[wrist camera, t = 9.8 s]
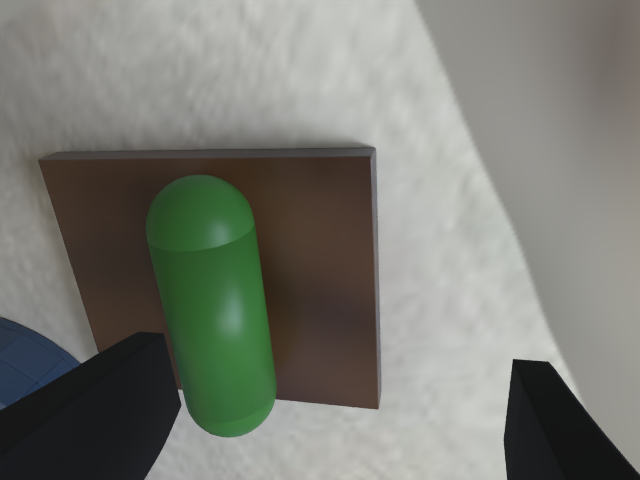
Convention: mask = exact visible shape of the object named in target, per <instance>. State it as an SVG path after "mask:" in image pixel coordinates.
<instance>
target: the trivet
mask: <svg viewBox="0 0 640 480" xmlns="http://www.w3.org/2000/svg"><path fill="white" fill-rule="evenodd" d="M39 164H40V168H41V171H42V174H43V177H44V180H45V183H46V187H47V190H48V193H49V196H50V199H51V202H52V206H53V209H54V212H55V215H56V218H57V221H58V225H59V228H60V231H61V234H62V237H63V240H64V244H65V247H66V250H67V253H68V256H69V260H70V263H71V266H72V269H73V272H74V275H75V279H76V282H77V285H78V288H79V291H80V294H81V298H82V301H83V304H84V307H85V310H86V313H87V317H88V320H89V323H90V326H91V329H92V332H93V336H94V339H95V342H96V345H97V348H98V352H99V353H100V352H102V351H104V350H106V349H107V348H109V347H111V346H112V345H114V344H116V343H118V342H120V341H121V340H123V339H125V338H127V337H129V336H131V335H133V334H135V333H137V332H139V331H142V332H155V333H164V335H165V339H166V344H167V348H168V352H169V356H170V360H171V364H172V368H173V372H174V377H175V381H176V385H177V389H180V390H182V385H181V381H180V377H179V373H178V369H177V364H176V360H175V356H174V352H173V347H172V343H171V339H170V335H169V331H168V326H167V322H166V318H165V314H164V310H163V305H162V301H161V297H160V293H159V289H158V284H157V280H156V276H155V272H154V268H153V263H152V259H151V255H150V251H149V246H148V242H147V236H146V228H145V227H146V217H147V214H148V211H149V208H150V205H151V203H152V202H153V200H154V199H155V197H156V196H157V194H158V193H159V192H160V191H161V190H162V189H163V188H164V187H165V186H167V185H168V184H170V183H172V182H173V181H175V180H177V179H179V178H182V177H186V176H190V175H210V176H214V177H218V178H221V179H223V180H225V181H227V182H228V183H230V184H232V185H233V186H234V187H236V188H237V189H238V190H239V191H240V192H241V193H242V195H243V196H244V197H245V198H246V200H247V201H248V203H249V205H250V207H251V209H252V213H253V217H254V221H255V228H256V235H257V243H258V250H259V257H260V265H261V272H262V280H263V287H264V294H265V302H266V309H267V317H268V324H269V331H270V339H271V346H272V354H273V361H274V368H275V376H276V398H275V399H279V400H289V401H299V402H309V403H318V404H328V405H338V406H348V407H358V408H368V409H379V404H380V397H381V351H380V307H379V264H378V220H377V176H376V148H374V147H370V148H301V149H232V150H164V151H95V152H57V153H55V154H52V155H50V156H47V157H45V158H42V159H40V160H39Z"/></svg>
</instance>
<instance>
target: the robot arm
mask: <svg viewBox="0 0 640 480" xmlns="http://www.w3.org/2000/svg"><path fill="white" fill-rule="evenodd" d="M180 408H181V401H180V397H179V393H178V389H177V385H176V381H175V377H174V372H173V368H172V364H171V360H170V356H169V352H168V348H167V344H166V339H165V335H164V333H155V332H142V331H139V332H137V333H135V334H133V335H131V336H129V337H127V338H125V339H123V340H121V341H120V342H118V343H116V344H114V345H112V346H111V347H109V348H107V349H106V350H104V351H102V352H100V353H99V354H97V355H95V356H94V357H92V358H90V359H89V360H87V361H85V362H84V363H82V364H80V365H79V366H77V367H75V368H73V369H72V370H70V371H68V372H67V373H65V374H63V375H62V376H60V377H58V378H57V379H55V380H53V381H51V382H50V383H48V384H46V385H45V386H43V387H41V388H39V389H38V390H36V391H34V392H32V393H30V394H29V395H27V396H25V397H23V398H21V399H19V400H18V401H16V402H14V403H12V404H10V405H9V406H7V407H5V408H3V409H1V410H0V480H144V479H145V477H146V476H147V474H148V472H149V471H150V469H151V467H152V466H153V464H154V462H155V461H156V459H157V457H158V455H159V454H160V452H161V450H162V449H163V446H164V444H165V442H166V440H167V438H168V436H169V433H170V431H171V429H172V427H173V424H174V422H175V420H176V417H177V415H178V412H179V410H180ZM504 449H505V461H506V471H507V480H640V474H639V473H638V472H637V471H636V470H635V469H634V468H633V466H632V465H631V464H630V463H629V462H628V461H627V460H626V459H625V457H624V456H623V455H622V454H621V452H620V451H619V450H618V449H617V448H616V447H615V445H614V444H613V443H612V442H611V441H610V439H609V438H608V437H607V436H606V435H605V434H604V432H603V431H602V430H601V429H600V428H599V426H598V425H597V424H596V422H595V421H594V420H593V419H592V417H591V416H590V415H589V414H588V412H587V411H586V410H585V409H584V407H583V406H582V405H581V403H580V402H579V401H578V400H577V398H576V397H575V396H574V394H573V393H572V392H571V390H570V389H569V388H568V386H567V385H566V384H565V382H564V381H563V379H562V378H561V377H560V375H559V374H558V373H557V371H556V370H555V369H554V367H553V366H552V365H551V364H550V363H549V362H545V361H532V360H518V359H513V364H512V372H511V381H510V390H509V398H508V407H507V416H506V424H505V433H504Z"/></svg>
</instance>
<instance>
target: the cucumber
mask: <svg viewBox="0 0 640 480" xmlns="http://www.w3.org/2000/svg"><path fill="white" fill-rule="evenodd" d="M145 228H146V236H147V242H148V246H149V251H150V255H151V259H152V263H153V268H154V272H155V276H156V280H157V284H158V289H159V293H160V297H161V301H162V305H163V310H164V314H165V318H166V322H167V326H168V331H169V335H170V339H171V343H172V347H173V352H174V356H175V360H176V364H177V369H178V373H179V377H180V381H181V385H182V390H183V394H184V398H185V402H186V406H187V408H188V411H189V413H190V415H191V417H192V418H193V420H194V421H195V422H196V424H198V425H199V426H200V427H201V428H202V429H204V430H205V431H207V432H208V433H210V434H213V435H216V436H220V437H237V436H241V435H244V434H247V433H249V432H251V431H252V430H254V429H255V428H257V427H258V426H259V425H260V424H261V423H262V422H263V421H264V420H265V419H266V418H267V416H268V415H269V413H270V411H271V409H272V407H273V405H274V402H275V398H276V376H275V368H274V361H273V354H272V346H271V339H270V331H269V324H268V317H267V309H266V302H265V294H264V287H263V280H262V272H261V265H260V257H259V250H258V243H257V235H256V228H255V221H254V217H253V213H252V209H251V207H250V205H249V203H248V201H247V200H246V198H245V197H244V196H243V195H242V193H241V192H240V191H239V190H238V189H237V188H236V187H234V186H233V185H232V184H230V183H228V182H227V181H225V180H223V179H221V178H218V177H214V176H210V175H190V176H186V177H182V178H179V179H177V180H175V181H173V182H172V183H170V184H168V185H167V186H165V187H164V188H163V189H162V190H161V191H160V192H159V193H158V194H157V196H156V197H155V199H154V200H153V202H152V203H151V205H150V208H149V211H148V214H147V217H146V227H145Z"/></svg>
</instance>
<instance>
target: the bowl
mask: <svg viewBox="0 0 640 480" xmlns="http://www.w3.org/2000/svg"><path fill="white" fill-rule="evenodd" d="M79 365H80V363H79V362H78V361H77V360H76V359H74V358H73V357H72V356H71V355H70V354H69V353H67V352H66V351H64V350H63V349H62V348H60V347H59V346H57V345H56V344H55V343H53V342H52V341H50V340H48V339H46V338H45V337H43V336H41V335H40V334H38V333H36V332H34V331H32V330H30V329H28V328H26V327H24V326H21V325H19V324H17V323H14V322H11V321H8V320H6V319H3V318H0V410H1V409H3V408H5V407H7V406H9V405H10V404H12V403H14V402H16V401H18V400H19V399H21V398H23V397H25V396H27V395H29V394H30V393H32V392H34V391H36V390H38V389H39V388H41V387H43V386H45V385H46V384H48V383H50V382H51V381H53V380H55V379H57V378H58V377H60V376H62V375H63V374H65V373H67V372H68V371H70V370H72V369H73V368H75V367H77V366H79Z"/></svg>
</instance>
